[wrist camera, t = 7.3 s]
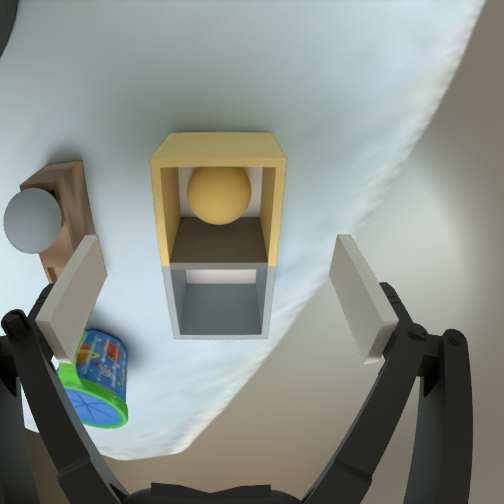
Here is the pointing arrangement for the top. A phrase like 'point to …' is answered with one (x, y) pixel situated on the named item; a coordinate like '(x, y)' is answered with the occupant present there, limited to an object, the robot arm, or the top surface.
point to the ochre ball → (218, 194)
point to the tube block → (218, 236)
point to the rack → (64, 212)
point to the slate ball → (32, 220)
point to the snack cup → (97, 381)
